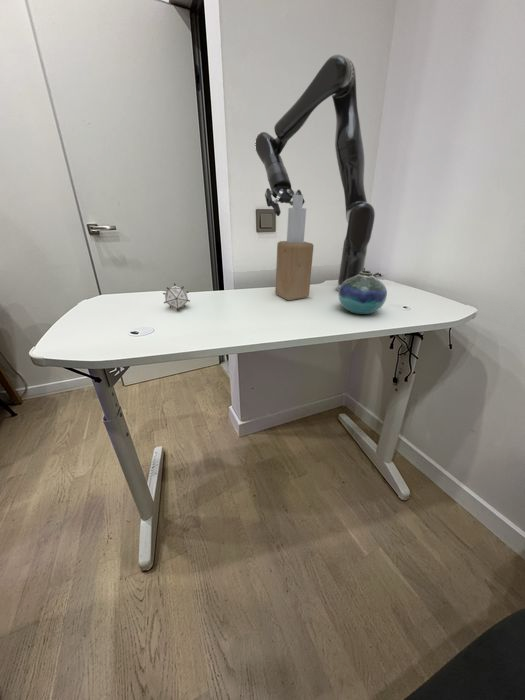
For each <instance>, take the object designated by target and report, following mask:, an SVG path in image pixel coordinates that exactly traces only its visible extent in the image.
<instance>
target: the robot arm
mask: <svg viewBox="0 0 525 700" xmlns="http://www.w3.org/2000/svg"><path fill="white" fill-rule="evenodd" d="M356 74H357V73H356V67H355V65H354V63H353V61H352V60H351V59H350V58H348V57H346V56H345V55H343V54H334V55H331V56H330V57H328V59H327V60H326V61H325V62H324V63H323V65H322V66H321V67H320V69H319V70H318V71H317V73H316V75H315V76H314V78H313V79H312V81H311V82H310V83H309V84H308V86H307V87H306V89H305V90H304V91H303V92H302V94H301V95H300V96H299V98H298V99H297V100H296V101H295V102H294V103H293V105H292V106H291V107H290V108H289V109H288V110H287V111H286V112H285V113H284V114H283V115H282V116H281V117H280V118H279V120H277V122H276V123H275V124H274V128H273V130H274V134H275V136H276V137H275V138H274V136H272V135H271V134H269V133H268V132H266V131H261V132H259V133H260V134H259V133H258V134H257V136H256V137H257V138H256V137H255V140H256V143H255V142H254V147H255V146H256V149H255V152H256V154H257V156H258V157H259V159H260V161H261V163H262V165H264V169H265V172H266V177H267V181H268V184H269V187H270V188H269V187H267V188H266V190H265V192H264V197H265V202H266V205H267V207H269V208H270V207H271V208H273V213H274V214H275V215H276V217H280V215H281V208H280V205H279V203H280V204H289V205H290V206H292V207H293V195H303V194H302V191H301V190H300V189H297V190H296V191H294V190H293V189H292V183H291V180H290V177H289V174H288V171H287V169H286V167H285V164H284V161H283V158H282V156H281V154H282V152H283V150H284V148H285V147H286V145H287V143H288V142H289V140H291V139H292V137H294V135H296V134H297V133H298V132H299V131H300V130H301V129H302V127H303V126H304V125H305V124H306V122H307V121H308V119H309V118H310V116H311V115H312V113H313V112H314V111H315V110H316V109H317V108H318V106H320V105H321V104H322V103H323V102H324V101H325V100H328V99H329V97H331V98H332V103H333V107H334V112H335V135H334V149H335V150H334V151H335V155H336V156H335V157H336V161H337V167H338V171H339V176H340V181H341V185H342V188H343V194H344V204H345V206H344V207H345V220H346V222H347V229H346V234H345V237H344V240H343V245H342V252H341V260H340V266H339V268H340V269H339V274H338V281H337V287H336V290H337V291H338V292H339V288H340V286H341V284H342V283H343V282H344V281H345V280H347V279H349V278H351V277H353V276H355V275H358V274H359V272H360V271H366V267H365V263H366V258H367V253H368V249H369V248H368V247H369V243H370V241H371V238H372V234H373V230H374V225H375V217H376V212H375V208H374V206H373V205H372V204H371V203H369V202H368V201H367V200H368V199H367V195H366V190H365V172H366V154H365V146H364V139H363V133H362V127H361V120H360V115H359V109H358V108H359V107H358V100H357V96H358V95H357V75H356ZM255 144H256V145H255ZM273 198H274V200H273ZM305 203H306V201H305V199H304V197H303V204H302V207H303V206H304V204H305ZM379 273H380V272H376V273H374V274H373V276H374V277H376V276H379V277H382V274H381V273H380V274H379Z"/></svg>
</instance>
